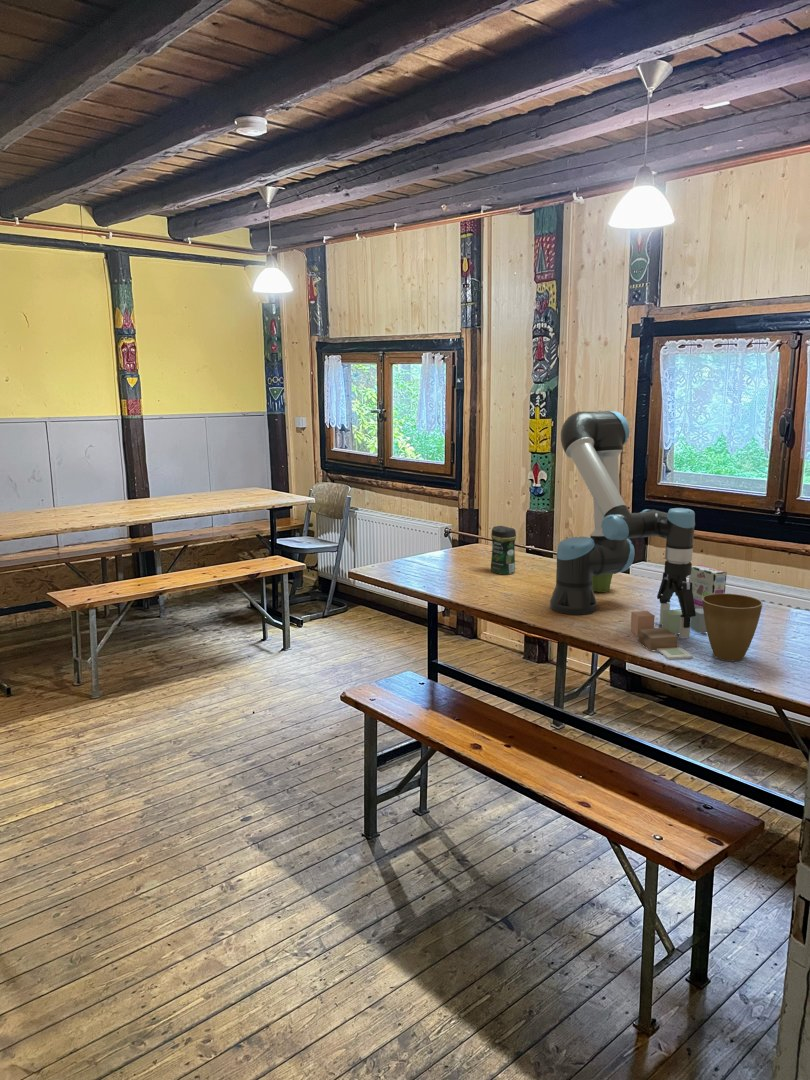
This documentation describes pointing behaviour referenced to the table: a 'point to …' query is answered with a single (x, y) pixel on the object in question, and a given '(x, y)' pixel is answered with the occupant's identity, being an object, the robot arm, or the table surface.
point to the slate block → (698, 621)
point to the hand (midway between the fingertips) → (673, 630)
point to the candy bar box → (706, 583)
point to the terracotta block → (641, 621)
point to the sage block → (672, 620)
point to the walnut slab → (657, 638)
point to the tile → (674, 653)
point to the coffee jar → (503, 550)
